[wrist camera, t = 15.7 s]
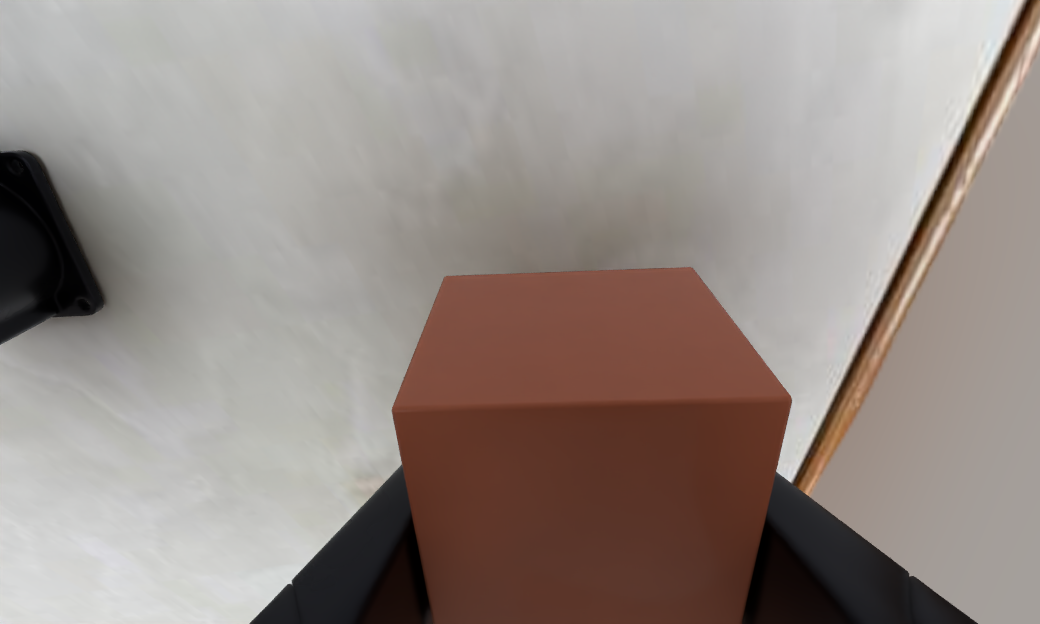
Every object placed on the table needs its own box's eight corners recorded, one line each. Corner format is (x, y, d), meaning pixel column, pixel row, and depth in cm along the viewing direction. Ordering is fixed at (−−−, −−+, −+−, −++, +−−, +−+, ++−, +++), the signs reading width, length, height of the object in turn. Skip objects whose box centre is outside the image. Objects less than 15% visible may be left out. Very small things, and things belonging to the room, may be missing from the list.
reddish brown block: (666, 509, 12) (725, 704, 8) (472, 512, 12) (447, 705, 8) (692, 266, 9) (795, 398, 6) (443, 274, 9) (388, 408, 6)
